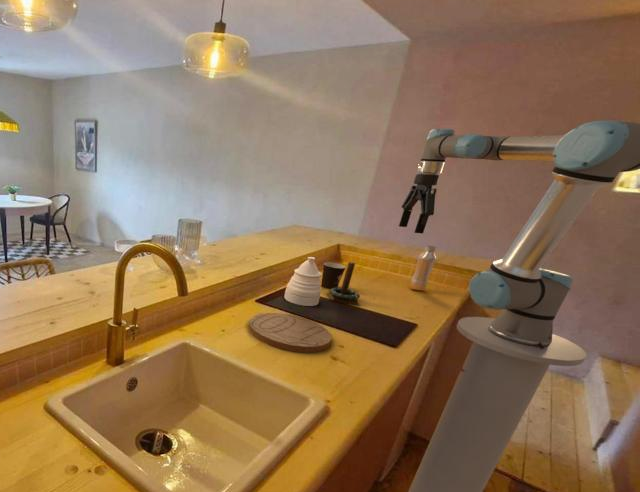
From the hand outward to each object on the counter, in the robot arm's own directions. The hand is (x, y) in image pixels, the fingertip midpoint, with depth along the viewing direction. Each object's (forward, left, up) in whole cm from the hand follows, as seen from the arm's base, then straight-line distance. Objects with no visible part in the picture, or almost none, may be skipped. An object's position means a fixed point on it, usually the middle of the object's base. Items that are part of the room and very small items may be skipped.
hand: (410, 229), depth 155 cm
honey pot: (-18, +38, -29) cm, 51 cm away
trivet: (-53, +48, -29) cm, 77 cm away
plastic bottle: (+15, -17, -29) cm, 36 cm away
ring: (-11, +21, -26) cm, 35 cm away
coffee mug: (+5, +21, -29) cm, 36 cm away
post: (-11, +21, -29) cm, 37 cm away
